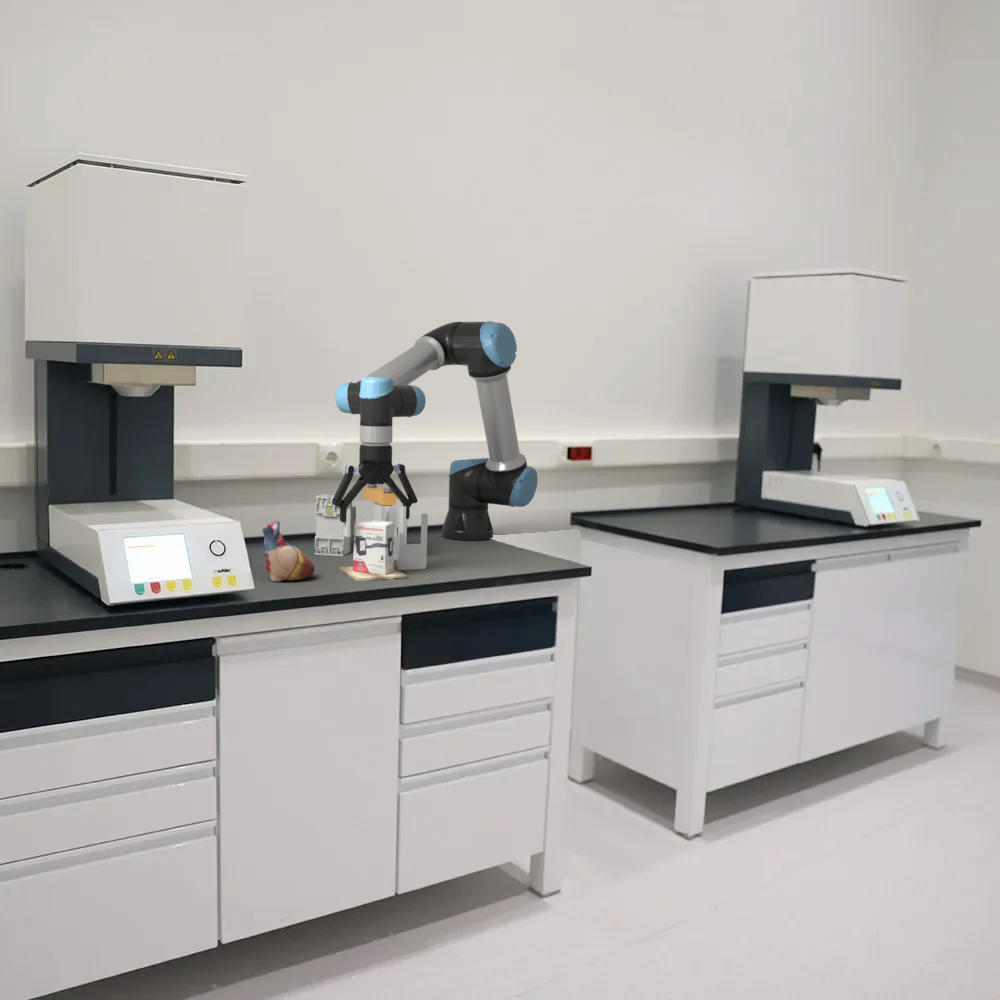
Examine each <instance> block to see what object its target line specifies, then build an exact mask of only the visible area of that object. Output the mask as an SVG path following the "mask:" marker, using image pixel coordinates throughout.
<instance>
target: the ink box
mask: <svg viewBox="0 0 1000 1000" xmlns="http://www.w3.org/2000/svg"><path fill="white" fill-rule="evenodd" d="M352 561H353V563H352V566H353V571H357V572H366V573H375V574H384V575H385V574H387V573H390V572H392V571H393V568H394V523H393V522H389V521H378V520H372V519H360V520H358V521H356V522H355V523H354V536H353V556H352Z"/></svg>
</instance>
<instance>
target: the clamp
mask: <svg viewBox="0 0 1000 1000" xmlns="http://www.w3.org/2000/svg"><path fill="white" fill-rule="evenodd" d="M398 510H399V506H397V505H381V504H378V503H376V502H373V501H372V519H371V520H378V521H389V522H393V523H394V560H396V570H398V571H413V570H426V569H427V557H428V556H427V553H428V552H427V549H428V547H427V546H428V544H427V543H428V520H429V519H428V518H429V517H428V514H426V513H421V517H420V519H421V522H420V525H421V526H420V543H408V544H407V541H408V540H407V539H408V537H407V534H408V533H407V531H408V519H406V534H401V533H399V514H398Z"/></svg>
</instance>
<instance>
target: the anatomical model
mask: <svg viewBox="0 0 1000 1000" xmlns="http://www.w3.org/2000/svg"><path fill="white" fill-rule="evenodd" d="M262 533H263V536H264V537H263V538H264V540H263V546H264V548H265V552H264V558H265V569H266V571H267V573H268V575H269V578H270V581H271V582H273V583H281V582H282V581H301V580H305V579H308V578H309V577H311V576H312V575H313V574H314V572H315V565H314V562H313V561H312V560H311V559H310V557H308V556H307V555H306V554H305V553H303V552H302V551H301V550H300V549H299V548H298V547H296V546H295V545H291V544H289V543H288V542H286V541H285V538H284V537H283V534H282V533H281V532H280V521H278V520H273V521H272V522H270V524H266V525H264V526H263V528H262Z"/></svg>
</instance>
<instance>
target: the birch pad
mask: <svg viewBox="0 0 1000 1000" xmlns="http://www.w3.org/2000/svg"><path fill="white" fill-rule="evenodd" d="M338 570H339V571H341V572H342V573H344V574H345V575H347V576H348V577H350V578H351V579H353V580H355V581H357V582H365V581H366V582H368V581H370V580H371V581H383V580H382V579H388V580H395V579H394V578H405V579H408V574H405V573H403V572H401V570H398V569H397V568H396V569H395V568H394V567H393V571H392V572H390V573H387V574H385V575H384V574H375V573H366V572H357V571H353V565H352V566H339V567H338Z"/></svg>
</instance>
